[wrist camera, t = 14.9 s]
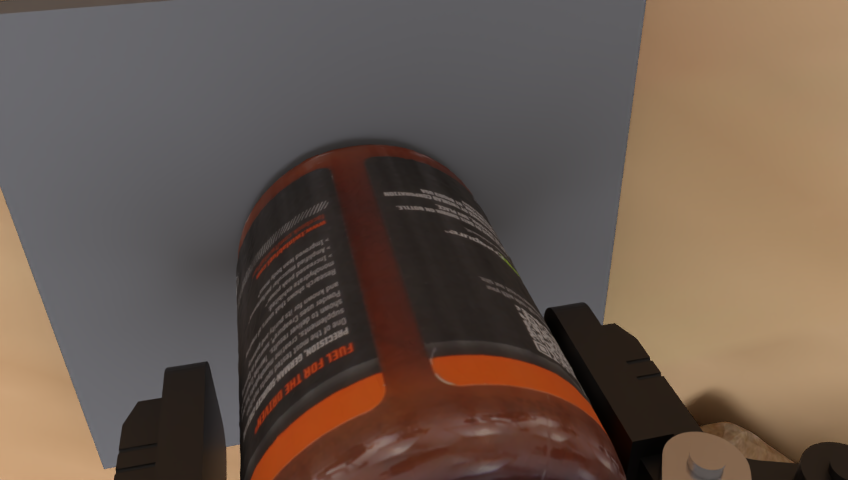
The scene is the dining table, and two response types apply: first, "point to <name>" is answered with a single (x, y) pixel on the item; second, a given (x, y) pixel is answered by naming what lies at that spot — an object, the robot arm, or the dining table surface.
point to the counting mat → (287, 153)
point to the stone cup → (745, 442)
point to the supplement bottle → (397, 336)
